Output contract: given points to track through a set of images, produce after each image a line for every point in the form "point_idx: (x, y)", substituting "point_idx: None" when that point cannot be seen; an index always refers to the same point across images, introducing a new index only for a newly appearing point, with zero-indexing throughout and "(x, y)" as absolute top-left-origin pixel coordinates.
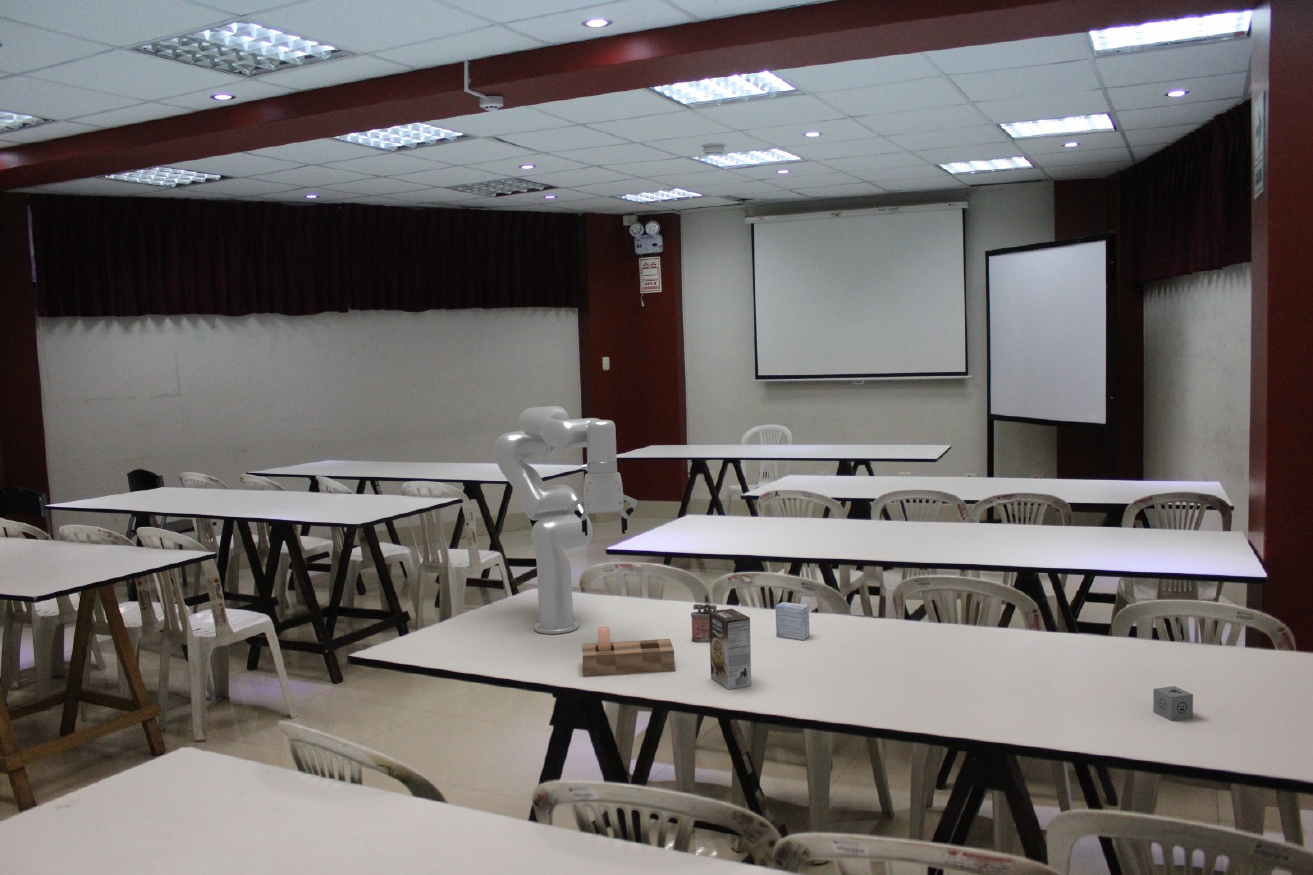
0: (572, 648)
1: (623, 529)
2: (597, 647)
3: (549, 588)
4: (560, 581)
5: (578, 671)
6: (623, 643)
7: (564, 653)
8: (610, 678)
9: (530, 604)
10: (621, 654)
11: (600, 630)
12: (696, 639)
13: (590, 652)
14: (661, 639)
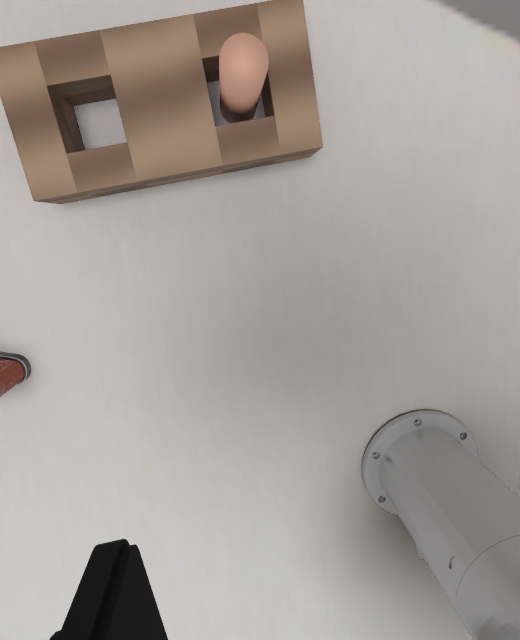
0: (355, 294)
1: (97, 587)
2: (267, 117)
3: (506, 502)
4: (482, 529)
5: None
6: (184, 146)
7: (371, 250)
8: (207, 8)
9: None
10: (171, 19)
11: (253, 36)
12: (9, 356)
13: (280, 40)
14: (61, 191)
